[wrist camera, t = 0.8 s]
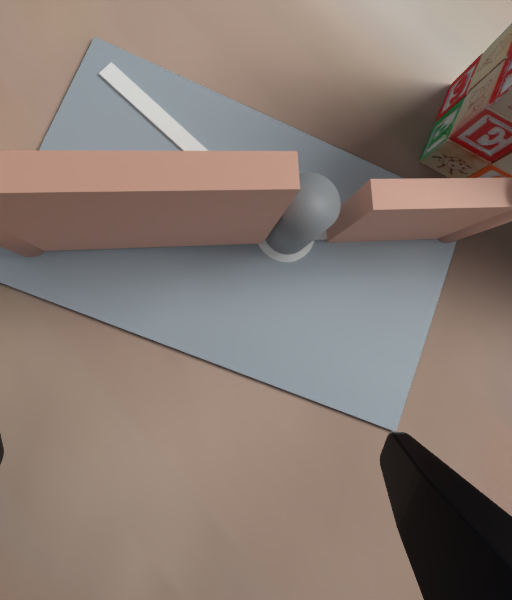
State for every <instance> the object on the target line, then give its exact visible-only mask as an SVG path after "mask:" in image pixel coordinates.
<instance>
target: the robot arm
mask: <svg viewBox="0 0 512 600" xmlns="http://www.w3.org/2000/svg"><path fill="white" fill-rule="evenodd" d="M3 455H4V448H3V443H2V439H1V434H0V464H1V462H2V459H3ZM380 466H381V470H382V473H383V477H384V481H385V485H386V488H387V492H388V496H389V499H390V503H391V507H392V511H393V514H394V518H395V521H396V525H397V528H398V531H399V534H400V537H401V540H402V542H403V545H404V548H405V550H406V553H407V556H408V558H409V561H410V564H411V566H412V569H413V572H414V574H415V577H416V580H417V582H418V585H419V588H420V590H421V593H422V596H423V598H424V600H512V516H510V515H509V514H508V513H507V512H505V511H504V510H503V509H502V508H500V507H499V506H498V505H497V504H495V503H494V502H493V501H492V500H490V499H489V498H488V497H486V496H485V495H484V494H483V493H481V492H480V491H479V490H478V489H476V488H475V487H474V486H473V485H471V484H470V483H469V482H468V481H466V480H465V479H464V478H463V477H461V476H460V475H459V474H458V473H456V472H455V471H454V470H453V469H451V468H450V467H449V466H448V465H446V464H445V463H444V462H443V461H441V460H440V459H439V458H438V457H436V456H435V455H434V454H433V453H431V452H430V451H429V450H428V449H426V448H425V447H424V446H423V445H421V444H420V443H419V442H418V441H416V440H415V439H414V438H412V437H411V436H410V435H409V434H407V433H403V432H391V433H390V434H389V435H388V436H387V439H386V441H385V444H384V447H383V449H382V452H381V455H380Z"/></svg>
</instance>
